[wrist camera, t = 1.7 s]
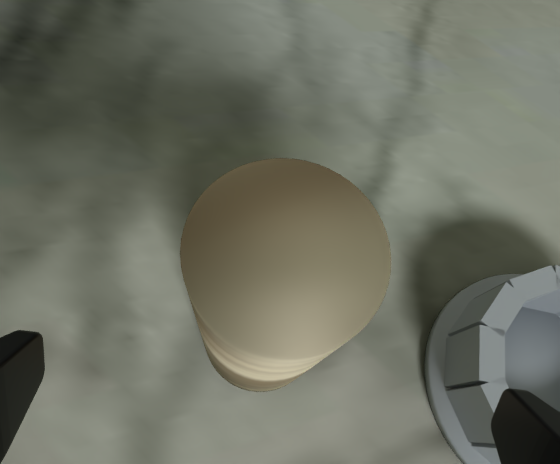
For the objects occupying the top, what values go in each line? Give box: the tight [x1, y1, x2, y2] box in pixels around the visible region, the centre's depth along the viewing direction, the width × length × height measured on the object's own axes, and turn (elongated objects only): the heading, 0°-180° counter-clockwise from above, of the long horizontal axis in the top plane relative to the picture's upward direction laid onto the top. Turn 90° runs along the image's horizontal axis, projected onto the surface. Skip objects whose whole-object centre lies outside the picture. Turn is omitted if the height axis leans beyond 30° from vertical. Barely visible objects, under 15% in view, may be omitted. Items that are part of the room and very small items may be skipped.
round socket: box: [425, 265, 560, 464], centre depth 19 cm, size 10×10×4 cm
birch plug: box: [180, 158, 391, 392], centre depth 16 cm, size 5×5×10 cm
